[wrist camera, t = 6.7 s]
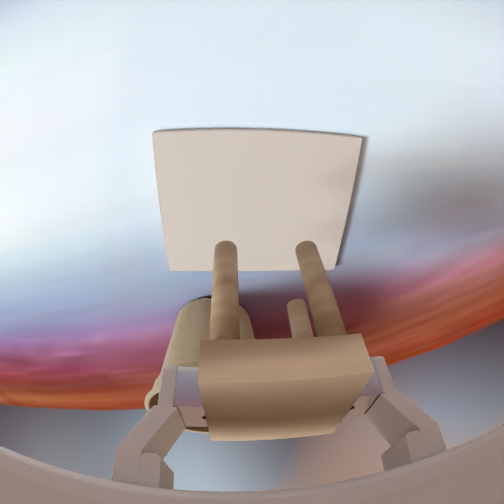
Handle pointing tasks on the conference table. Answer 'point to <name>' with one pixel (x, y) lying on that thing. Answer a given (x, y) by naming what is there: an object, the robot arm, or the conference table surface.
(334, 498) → the robot arm
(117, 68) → the conference table surface
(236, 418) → the stool
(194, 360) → the flower pot
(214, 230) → the mat
